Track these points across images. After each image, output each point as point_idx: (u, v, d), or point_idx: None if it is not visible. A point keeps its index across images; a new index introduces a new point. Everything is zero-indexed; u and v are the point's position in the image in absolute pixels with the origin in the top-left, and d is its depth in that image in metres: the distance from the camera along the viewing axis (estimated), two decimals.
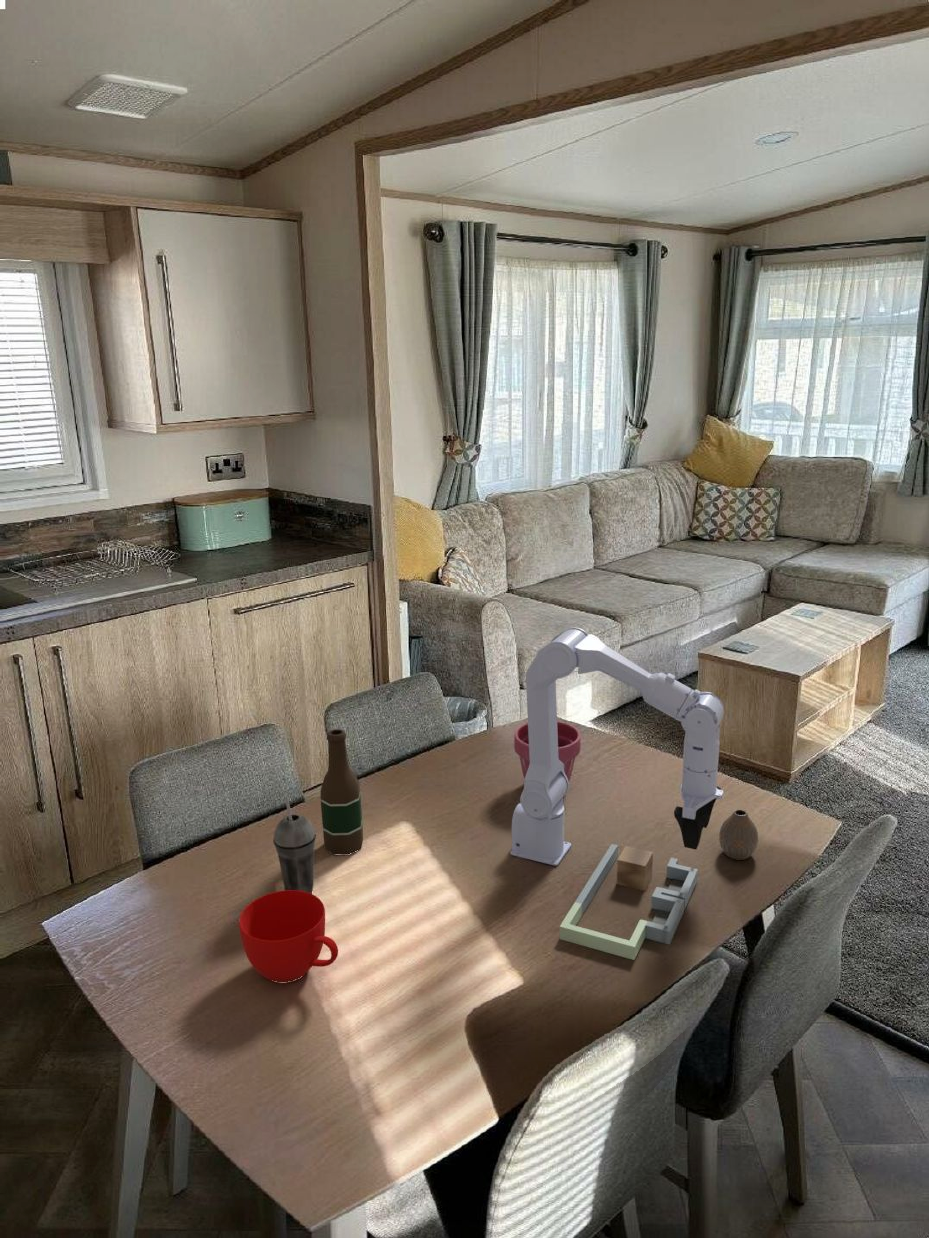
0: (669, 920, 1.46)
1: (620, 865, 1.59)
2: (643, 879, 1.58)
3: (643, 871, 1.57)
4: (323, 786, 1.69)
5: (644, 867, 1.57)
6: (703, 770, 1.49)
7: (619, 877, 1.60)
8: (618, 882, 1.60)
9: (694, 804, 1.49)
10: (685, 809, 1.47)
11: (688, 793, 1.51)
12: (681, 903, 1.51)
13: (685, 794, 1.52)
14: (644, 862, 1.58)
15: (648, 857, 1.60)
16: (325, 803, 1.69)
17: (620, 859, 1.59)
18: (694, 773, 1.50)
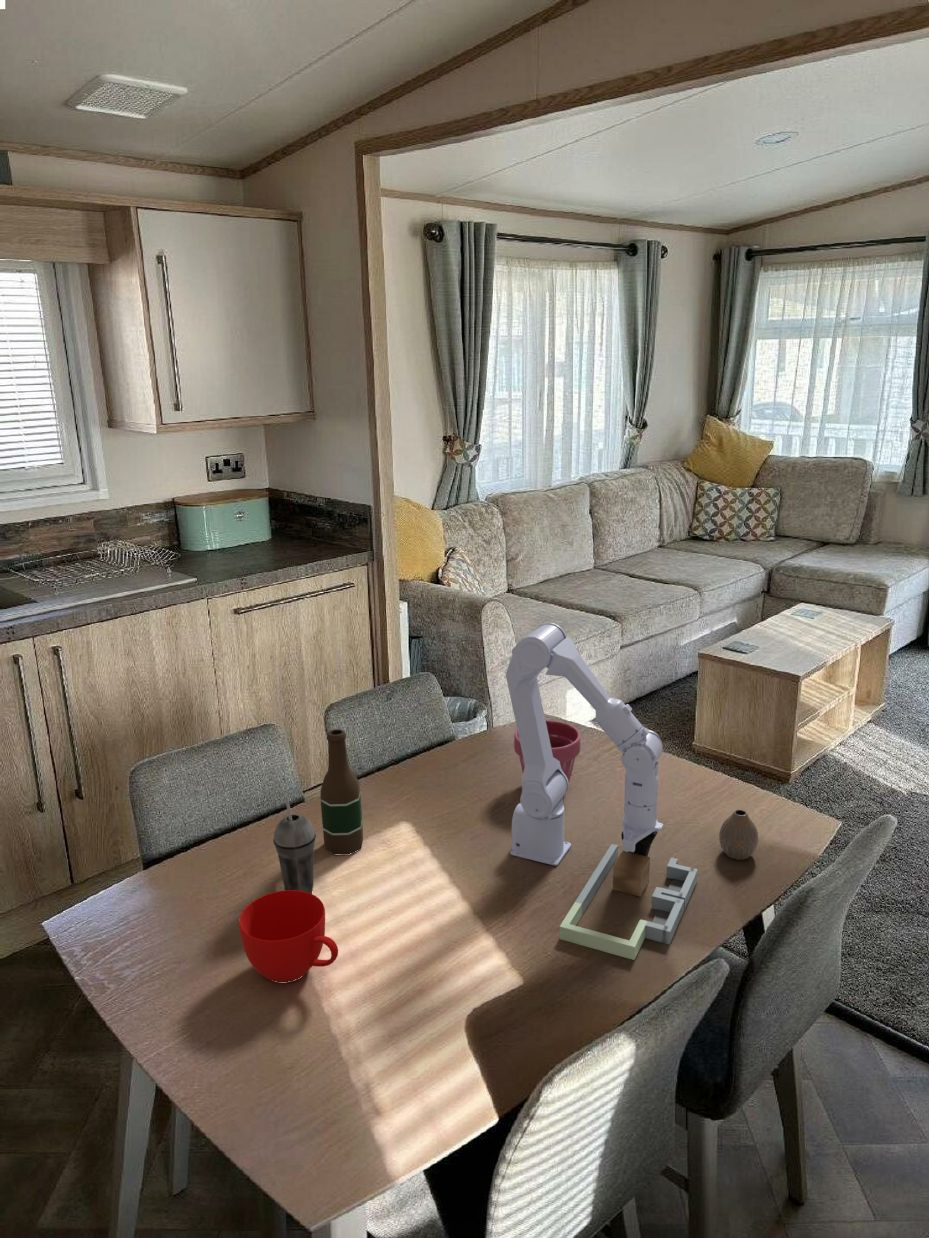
0: (669, 920, 1.46)
1: (616, 870, 1.57)
2: (639, 884, 1.56)
3: (639, 876, 1.56)
4: (323, 786, 1.69)
5: (640, 872, 1.55)
6: (642, 804, 1.56)
7: (615, 883, 1.58)
8: (614, 887, 1.59)
9: (634, 837, 1.56)
10: (625, 842, 1.54)
11: (629, 826, 1.58)
12: (681, 903, 1.51)
13: (626, 827, 1.59)
14: (641, 867, 1.56)
15: (645, 862, 1.58)
16: (325, 803, 1.69)
17: (616, 863, 1.58)
18: (634, 807, 1.57)
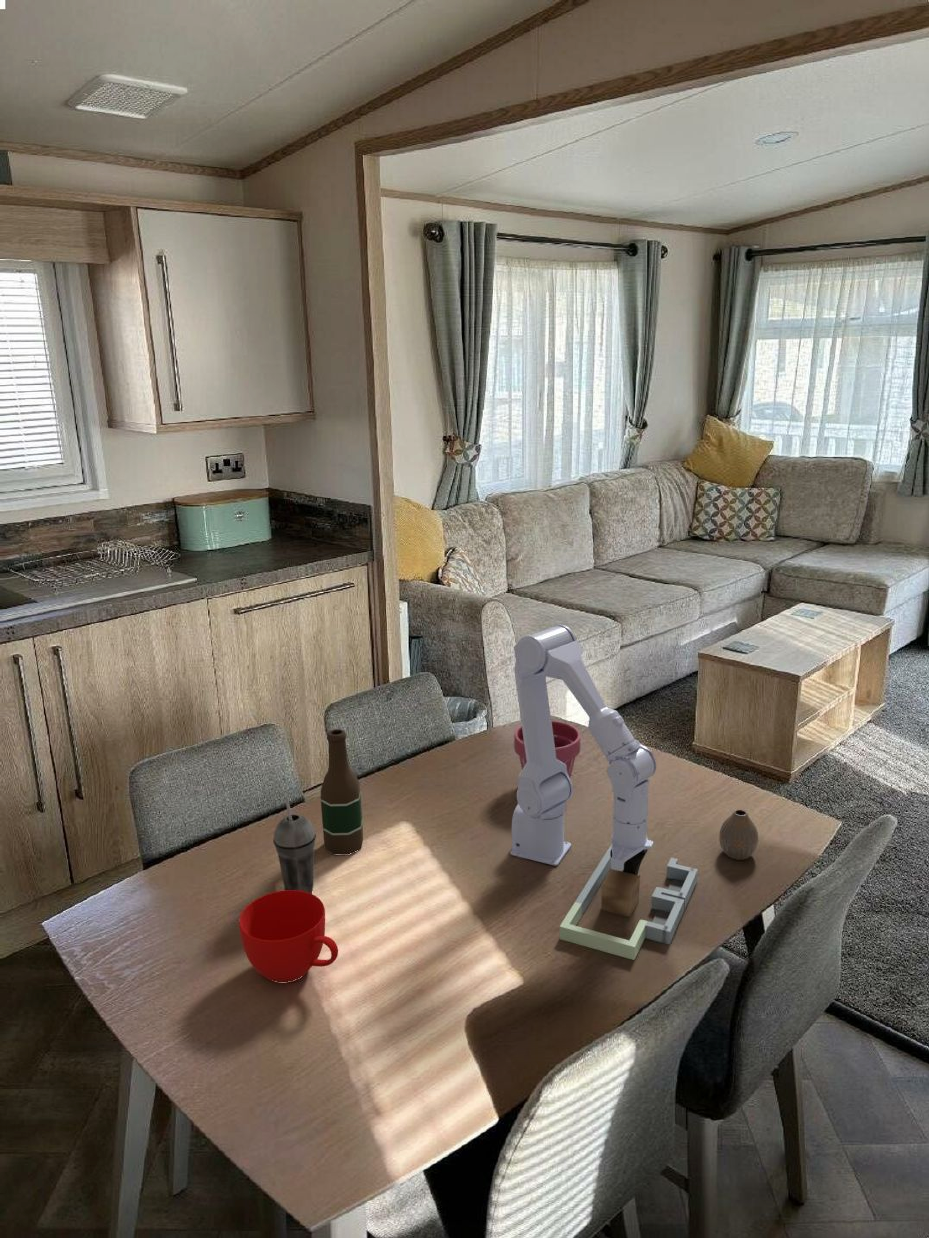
0: (669, 920, 1.46)
1: (605, 890, 1.52)
2: (628, 905, 1.51)
3: (628, 896, 1.50)
4: (323, 786, 1.69)
5: (629, 892, 1.50)
6: (626, 821, 1.51)
7: (604, 902, 1.53)
8: (603, 907, 1.53)
9: (623, 855, 1.50)
10: (613, 861, 1.49)
11: (618, 844, 1.53)
12: (681, 903, 1.51)
13: (615, 845, 1.53)
14: (630, 887, 1.51)
15: (634, 881, 1.52)
16: (325, 803, 1.69)
17: (604, 883, 1.52)
18: (623, 825, 1.51)
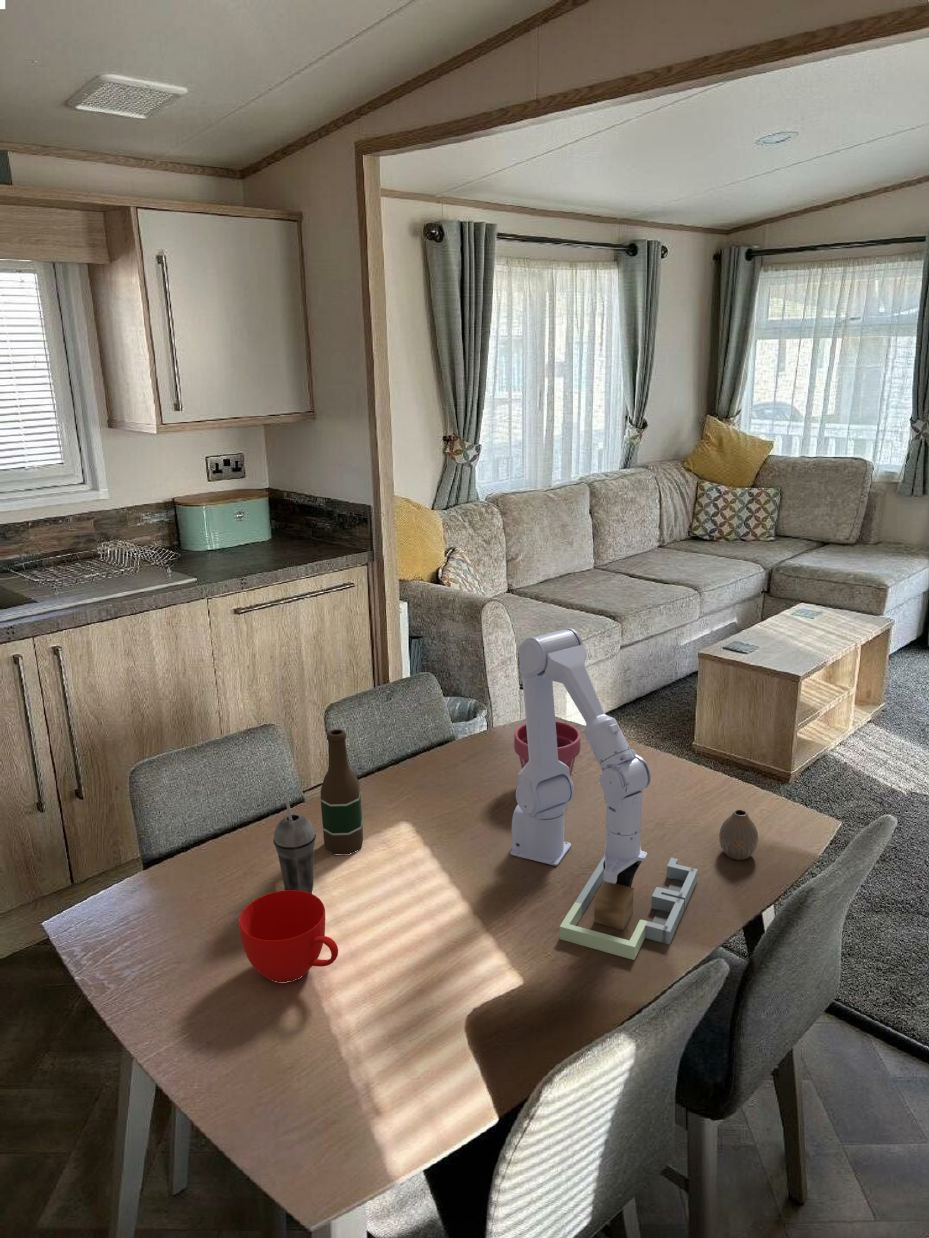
0: (669, 920, 1.46)
1: (598, 902, 1.49)
2: (622, 918, 1.47)
3: (622, 909, 1.47)
4: (323, 786, 1.69)
5: (623, 905, 1.47)
6: (616, 831, 1.48)
7: (597, 915, 1.50)
8: (595, 920, 1.50)
9: (616, 867, 1.47)
10: (606, 873, 1.46)
11: (611, 855, 1.50)
12: (681, 903, 1.51)
13: (608, 856, 1.50)
14: (623, 899, 1.48)
15: (628, 894, 1.49)
16: (325, 803, 1.69)
17: (597, 895, 1.49)
18: (616, 836, 1.48)
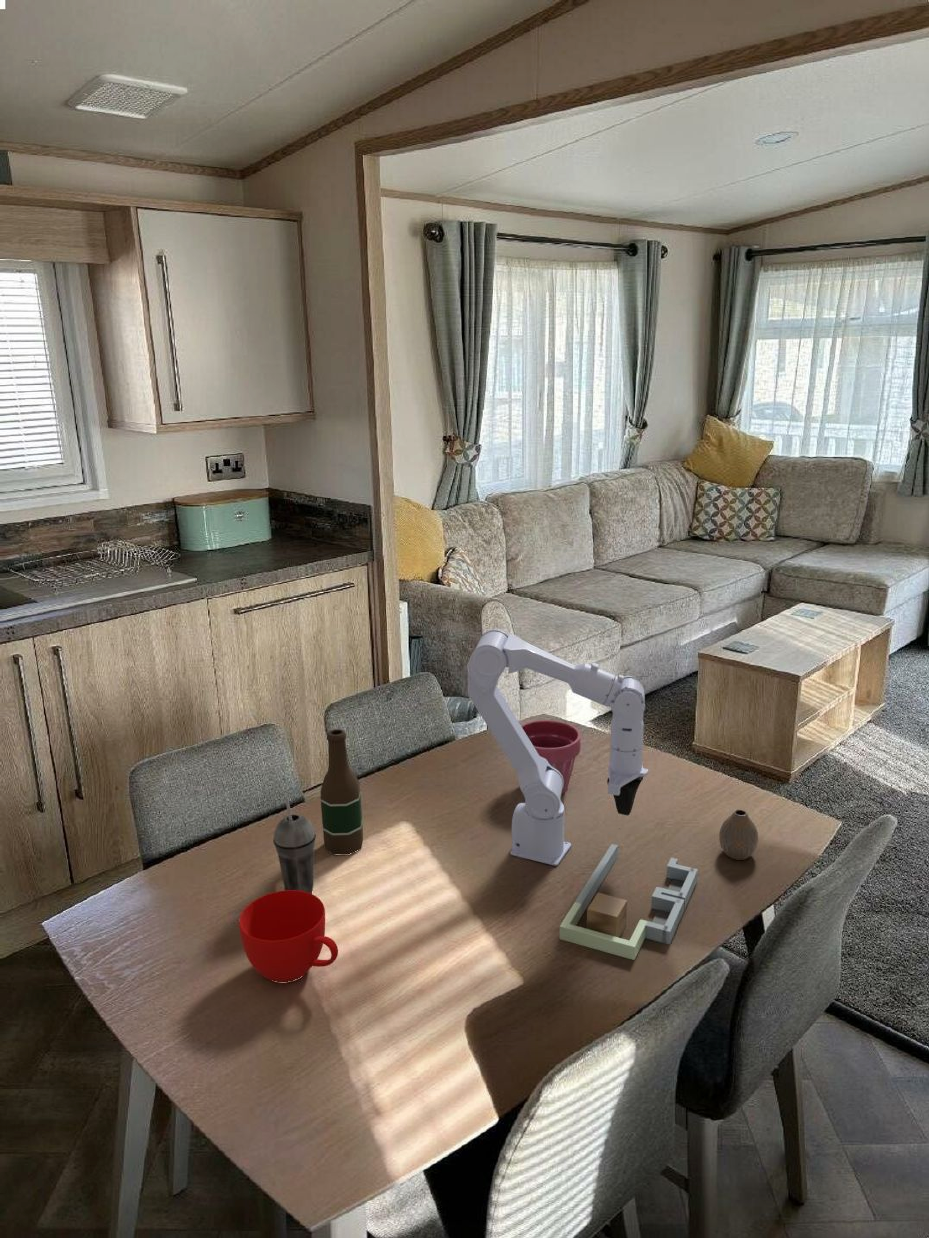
0: (669, 920, 1.46)
1: (590, 915, 1.46)
2: (615, 931, 1.44)
3: (615, 922, 1.44)
4: (323, 786, 1.69)
5: (616, 918, 1.44)
6: (632, 749, 1.59)
7: (589, 928, 1.47)
8: None
9: (619, 781, 1.59)
10: (610, 785, 1.57)
11: (615, 771, 1.61)
12: (681, 903, 1.51)
13: (612, 772, 1.61)
14: (617, 912, 1.45)
15: (621, 906, 1.46)
16: (325, 803, 1.69)
17: (590, 908, 1.46)
18: (619, 752, 1.59)
